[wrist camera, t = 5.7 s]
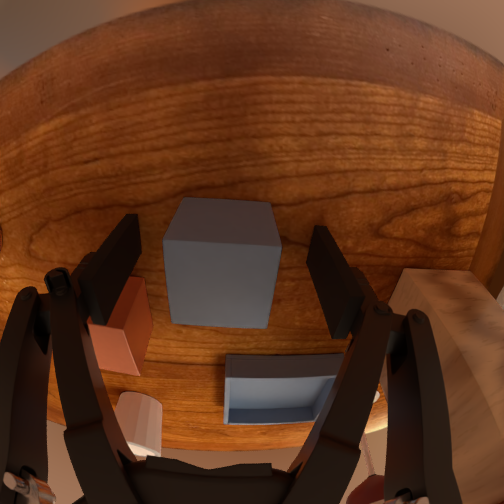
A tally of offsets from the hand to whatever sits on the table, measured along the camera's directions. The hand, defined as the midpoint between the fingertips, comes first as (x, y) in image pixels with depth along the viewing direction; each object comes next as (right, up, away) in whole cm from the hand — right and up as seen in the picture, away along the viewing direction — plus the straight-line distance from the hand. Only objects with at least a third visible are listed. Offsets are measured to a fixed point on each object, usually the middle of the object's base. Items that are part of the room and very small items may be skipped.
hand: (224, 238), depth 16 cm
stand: (+17, -6, +5) cm, 19 cm away
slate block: (0, 0, 0) cm, 0 cm away
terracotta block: (-9, -5, +3) cm, 10 cm away
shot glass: (-12, -20, +12) cm, 26 cm away
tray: (+4, -15, +10) cm, 18 cm away
